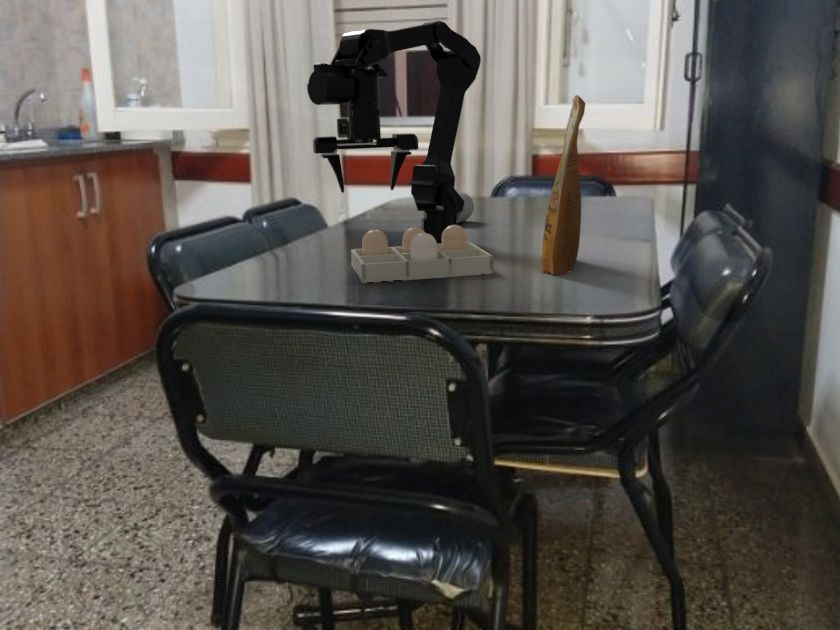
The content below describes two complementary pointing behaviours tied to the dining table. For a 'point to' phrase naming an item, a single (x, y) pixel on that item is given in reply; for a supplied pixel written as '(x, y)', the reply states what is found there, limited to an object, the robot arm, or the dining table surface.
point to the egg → (423, 247)
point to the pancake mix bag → (565, 203)
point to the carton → (397, 265)
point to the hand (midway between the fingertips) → (367, 191)
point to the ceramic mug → (465, 208)
